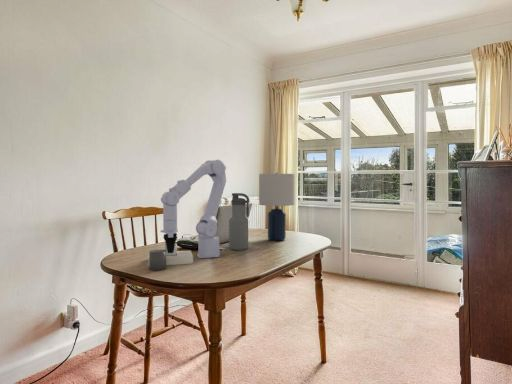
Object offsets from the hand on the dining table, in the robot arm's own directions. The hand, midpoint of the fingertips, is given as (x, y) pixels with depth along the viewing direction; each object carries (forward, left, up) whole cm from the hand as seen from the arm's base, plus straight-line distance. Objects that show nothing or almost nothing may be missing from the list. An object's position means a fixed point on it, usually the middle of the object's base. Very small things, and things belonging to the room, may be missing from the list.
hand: (170, 251), depth 145 cm
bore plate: (0, 0, -4) cm, 4 cm away
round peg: (+5, +11, -4) cm, 13 cm away
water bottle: (-34, -19, -4) cm, 39 cm away
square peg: (0, 0, -3) cm, 3 cm away
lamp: (-60, -37, -4) cm, 71 cm away
